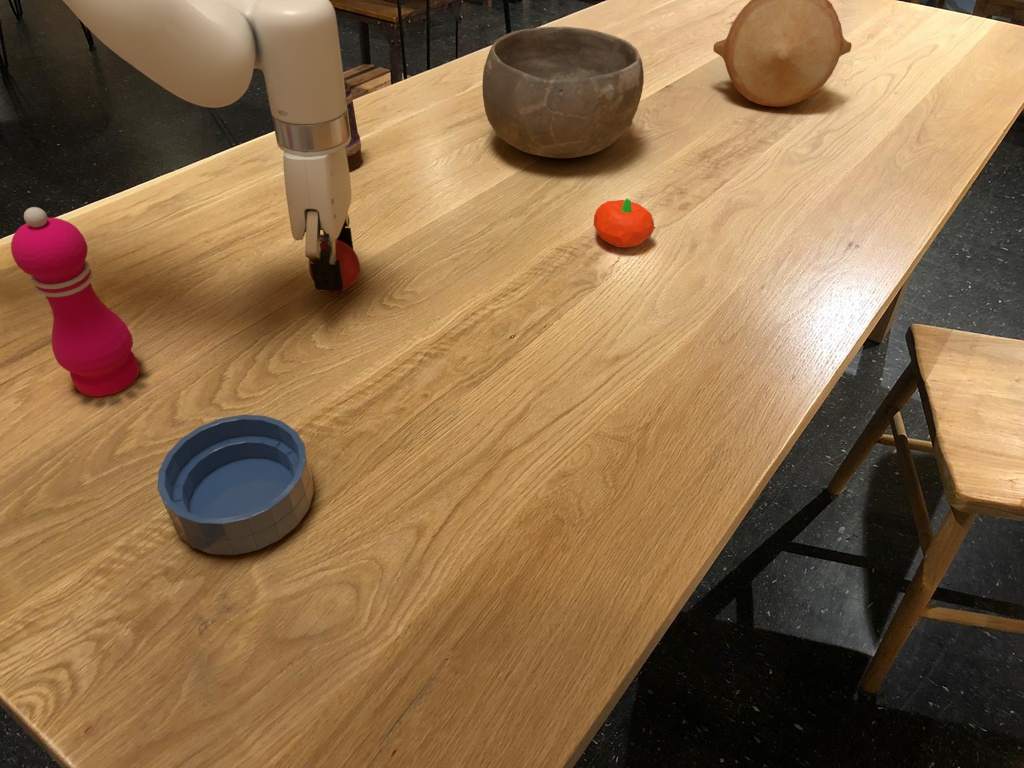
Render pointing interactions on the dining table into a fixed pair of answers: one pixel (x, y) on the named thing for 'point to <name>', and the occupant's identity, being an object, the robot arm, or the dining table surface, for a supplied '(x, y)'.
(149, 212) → the dining table surface
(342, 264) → the onion
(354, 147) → the mug
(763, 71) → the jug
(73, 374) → the pepper mill
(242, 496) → the blue bowl
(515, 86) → the bowl
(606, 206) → the pumpkin
